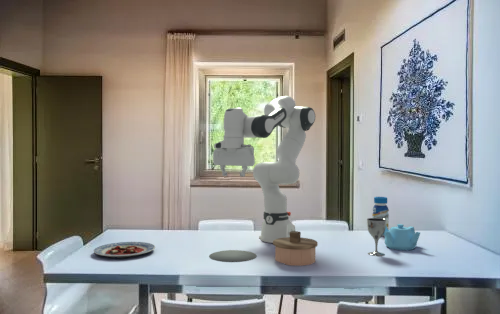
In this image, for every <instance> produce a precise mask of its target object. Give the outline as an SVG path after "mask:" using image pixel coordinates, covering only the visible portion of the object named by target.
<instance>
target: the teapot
mask: <svg viewBox="0 0 500 314" xmlns="http://www.w3.org/2000/svg"><path fill="white" fill-rule="evenodd" d="M396 225H397V226H391V227H390V228H389V227H388V228H387V226H386V229H385V232H384V236H383V237H384V244H385V246H386V247H387V248H388V249H391V250H396V251H397V250H398V251H411V250H412V251H413V250H414V249H415V248H416V247H417V244H418V241H419V238H420V235H421V232H420V231H415V226H411V225H410V226H408V227H407V226H404V224H403V223H398V224H396Z"/></svg>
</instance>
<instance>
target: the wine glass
mask: <svg viewBox="0 0 500 314" xmlns="http://www.w3.org/2000/svg"><path fill="white" fill-rule="evenodd" d="M366 225H367V226H366V227H367V231H368V233H369V235H370V236H371V237H372V239H373V240H374V245H375V246H374V247H375V249H374V251H370V252H367V254H368V255H369V256H372V257H384V256H385V255H386V254H385V253H384V252H380V251H378V243H379V240H380V239H381V237H383V236H382V235H383V234H384V232H385V229H386V219H382V218H373V217H368V218H367V219H366Z"/></svg>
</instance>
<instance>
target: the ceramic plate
mask: <svg viewBox="0 0 500 314" xmlns="http://www.w3.org/2000/svg"><path fill="white" fill-rule="evenodd" d="M155 249H156V245H155V244H154V243H150V242H145V241H119V242H113V243H107V244H104V245H99V246H97V247H95V248H94V249H93V253H94V254H96V255H98V256H102V257H109V258H115V257H117V258H120V259H122V258H131V257H133V258H134V257H137V256H140V255H143V254H147V253H150V252H152V251H154V250H155Z"/></svg>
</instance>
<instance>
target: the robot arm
mask: <svg viewBox="0 0 500 314" xmlns="http://www.w3.org/2000/svg"><path fill="white" fill-rule="evenodd" d="M296 104H297V103H296V101H295V100H294V98H292V97H291V96H289V95H284V96H279V97H276V98H274V99H272V100H270V101H269V102H267V103H266V104H265V106H264V109H263V114H262V115H260V114H259V115H248V114H246V113H245V111H244V110H243V108H242V107H231V108H227V109H226V110H225V112H224V115H223V130H224V131H223V132H224V134H223V139H222V140H221V141H218V142H215V143H214V144H213V147H214V150H213V155H212V163H213V165H214V166H219V167H220V168H219V169H220V171H221V173H222V174H221V176H223V177H227V176H228V171H226V166H232V167H236V166H237V167H238V166H239V167H241V169H242V171H240V172H239V177H240V178H242V177H246V172H247V170H248V167H254V168H253V170H252V174H253V175H252V176H253V178H254V179H255V181H256V182H257V184H259V186H260V188H261V191H262V193H263V201H264V204H263V205H264V206H263V207H264V211H263V221H262V222H261V231H260V235H259V236H258V238H259V239H260V240H261V241H262V242H265V243H269V244H270V243H272V244H273V240H275V239H278V238H286V237H290V232H292V231H296V226H295V225H294V223H293V222H292V221H291V220H289V218H290V216H292V212H291V211H287V210H288V209H287V207H288V206H287V205H288V204H287V203H288V202H287V201H288V198H287V195H286V193H284V192H283V191H282V190H281V189H280V185H284V186H285V185H292V184H295V183H297V182H298V180H299V178H300V169H299V167H298V165H297V163H296V161H297V158H298V157H299V154H300V153H301V151H302V148H303V146H304V145H305V141H306V138H307V133H306V132H309V130H310V129H311V128H312V127H313V125H314V123H315V122H316V113H315V110H314V109H313V108H312V107H310V106H296ZM277 127H280V128H283V129H284V128H288V131H287V132H286V133H285V135H284V136H283V138H282V139H281V141H280V143H279V145H278V147H277V148H276V150H275V151H276V158H278V160H277V161H262V162H259V163H255V162H256V161H255V154H254V153H255V149H254V148H255V147H254V146H253V145H252V144H245V140H244V139H246V138H248V139H250V138H253V139H255V138H260V139H267V138H268V137H270V135H271V134H272V132H273V131H274V129H276V128H277Z"/></svg>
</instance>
